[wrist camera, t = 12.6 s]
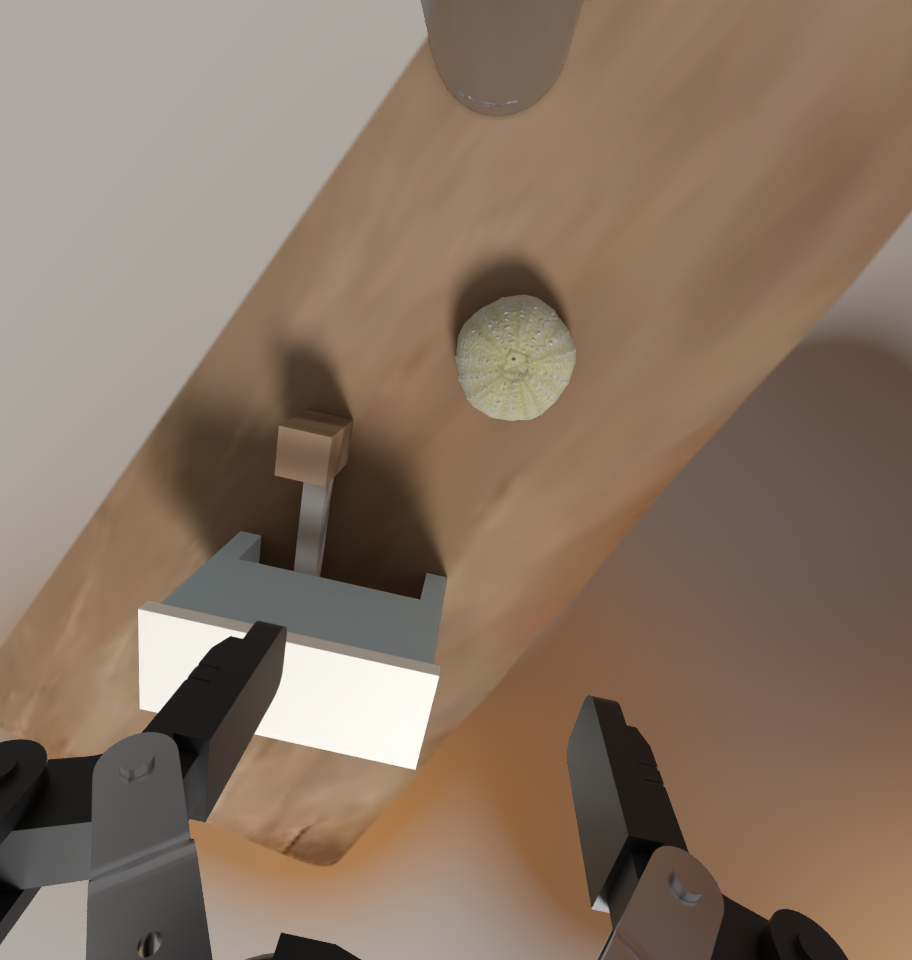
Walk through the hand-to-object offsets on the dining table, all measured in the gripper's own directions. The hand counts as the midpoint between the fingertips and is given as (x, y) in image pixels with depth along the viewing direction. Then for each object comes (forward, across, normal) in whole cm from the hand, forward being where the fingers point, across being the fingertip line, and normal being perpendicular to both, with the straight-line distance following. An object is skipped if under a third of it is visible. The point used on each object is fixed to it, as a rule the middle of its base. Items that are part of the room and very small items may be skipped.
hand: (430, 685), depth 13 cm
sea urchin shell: (+30, -2, -6) cm, 31 cm away
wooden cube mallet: (+30, +12, +10) cm, 34 cm away
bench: (+30, +9, +19) cm, 37 cm away
